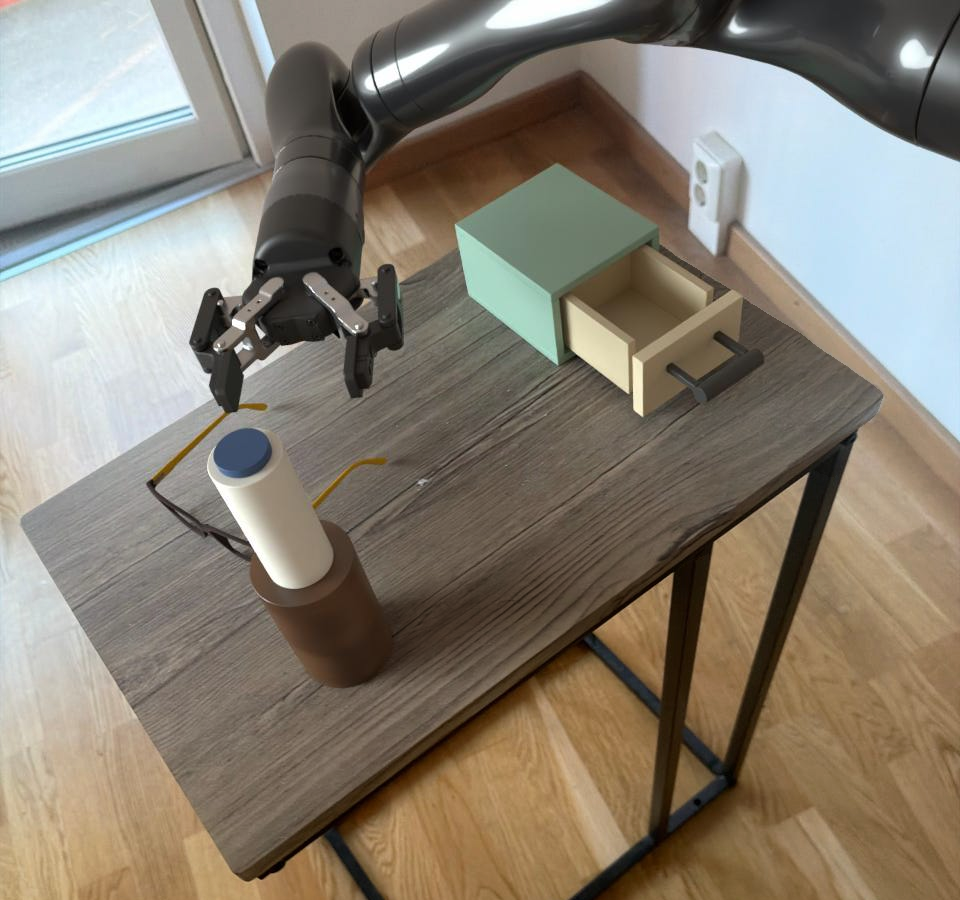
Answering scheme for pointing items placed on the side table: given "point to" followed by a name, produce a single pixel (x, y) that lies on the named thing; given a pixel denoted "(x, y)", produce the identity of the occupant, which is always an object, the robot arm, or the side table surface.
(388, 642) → the stand
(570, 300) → the drawer
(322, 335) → the robot arm
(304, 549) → the tube
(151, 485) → the eyeglasses
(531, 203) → the cabinet
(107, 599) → the side table surface
